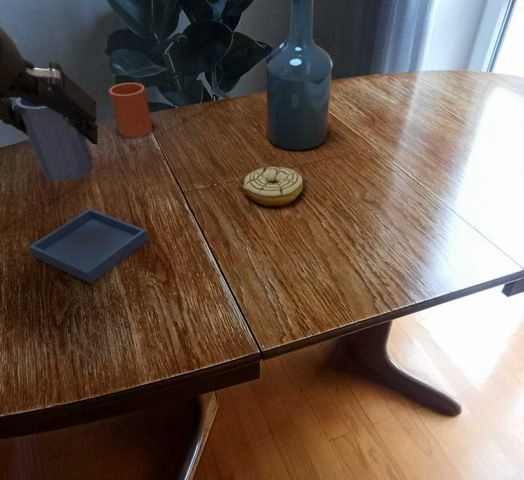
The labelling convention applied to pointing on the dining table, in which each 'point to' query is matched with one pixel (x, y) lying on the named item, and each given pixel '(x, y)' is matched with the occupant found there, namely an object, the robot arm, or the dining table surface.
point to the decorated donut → (273, 185)
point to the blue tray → (89, 245)
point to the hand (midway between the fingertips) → (68, 134)
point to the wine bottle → (298, 85)
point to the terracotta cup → (131, 109)
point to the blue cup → (55, 142)
